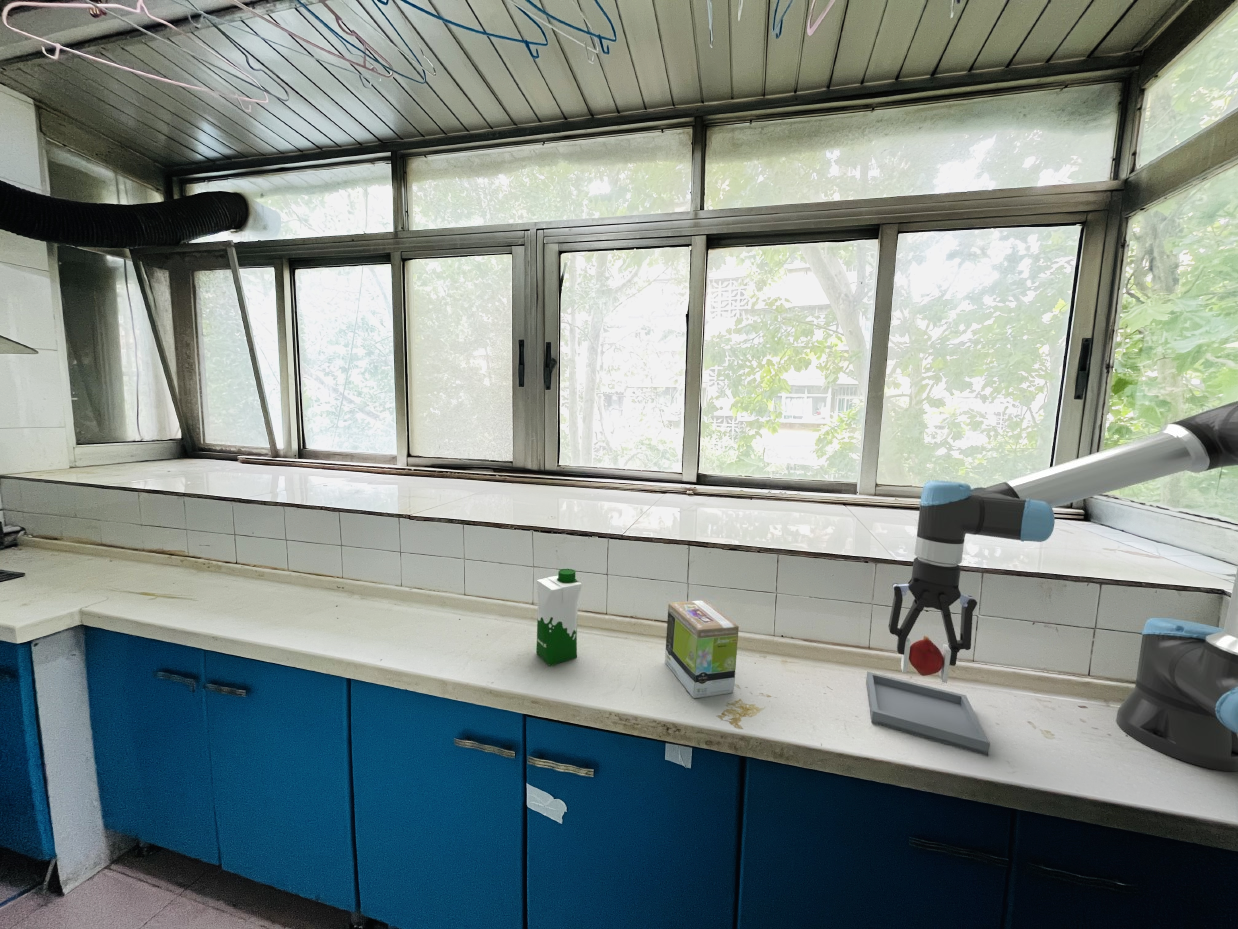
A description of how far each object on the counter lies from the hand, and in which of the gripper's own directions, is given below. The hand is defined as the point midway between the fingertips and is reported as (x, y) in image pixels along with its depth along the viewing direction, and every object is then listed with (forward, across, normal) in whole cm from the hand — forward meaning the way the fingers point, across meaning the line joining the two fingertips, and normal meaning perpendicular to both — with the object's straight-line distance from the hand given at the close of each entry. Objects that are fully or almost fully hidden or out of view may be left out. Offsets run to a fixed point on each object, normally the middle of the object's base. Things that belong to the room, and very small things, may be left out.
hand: (923, 674), depth 90 cm
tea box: (+9, +43, +9) cm, 45 cm away
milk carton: (+9, +75, +17) cm, 77 cm away
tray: (+8, 0, 0) cm, 8 cm away
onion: (0, 0, 0) cm, 0 cm away
